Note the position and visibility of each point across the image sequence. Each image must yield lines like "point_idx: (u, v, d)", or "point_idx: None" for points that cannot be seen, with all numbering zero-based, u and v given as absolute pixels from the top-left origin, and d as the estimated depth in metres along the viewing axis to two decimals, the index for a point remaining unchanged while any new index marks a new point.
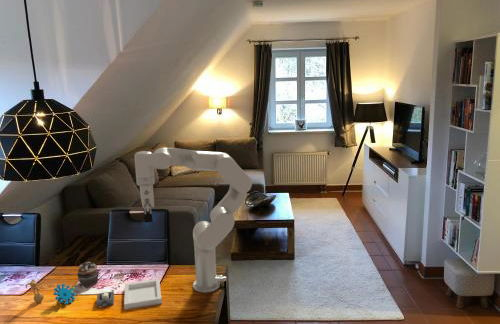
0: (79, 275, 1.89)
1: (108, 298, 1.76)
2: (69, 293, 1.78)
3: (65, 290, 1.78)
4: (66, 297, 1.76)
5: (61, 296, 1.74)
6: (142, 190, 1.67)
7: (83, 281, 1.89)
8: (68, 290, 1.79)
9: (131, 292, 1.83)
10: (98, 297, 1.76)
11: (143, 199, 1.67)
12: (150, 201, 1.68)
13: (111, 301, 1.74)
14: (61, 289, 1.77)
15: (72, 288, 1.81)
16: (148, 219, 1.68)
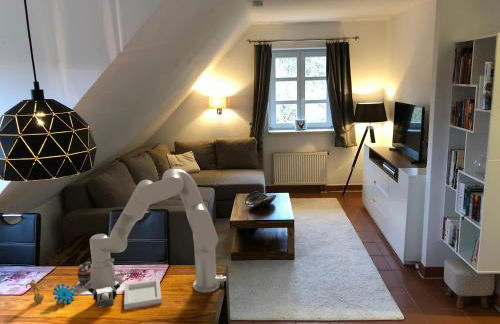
0: (79, 275, 1.89)
1: (108, 298, 1.76)
2: (68, 293, 1.78)
3: (65, 290, 1.78)
4: (65, 297, 1.76)
5: (60, 296, 1.75)
6: (112, 269, 1.73)
7: (83, 281, 1.89)
8: (68, 290, 1.79)
9: (131, 292, 1.83)
10: (98, 297, 1.76)
11: (114, 277, 1.74)
12: (115, 276, 1.77)
13: (111, 301, 1.74)
14: (61, 289, 1.77)
15: (72, 288, 1.81)
16: (116, 294, 1.78)
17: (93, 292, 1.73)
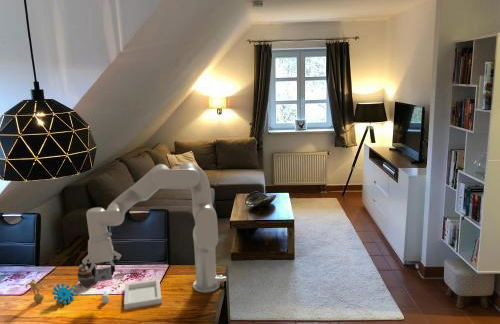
0: (79, 275, 1.89)
1: (108, 298, 1.76)
2: (68, 293, 1.79)
3: (64, 290, 1.78)
4: (65, 297, 1.76)
5: (60, 296, 1.75)
6: (110, 243, 1.70)
7: (83, 281, 1.89)
8: (67, 290, 1.79)
9: (131, 292, 1.83)
10: (96, 272, 1.73)
11: (112, 251, 1.72)
12: (113, 250, 1.75)
13: (109, 276, 1.72)
14: (60, 289, 1.77)
15: (72, 288, 1.82)
16: (114, 269, 1.75)
17: (91, 267, 1.71)
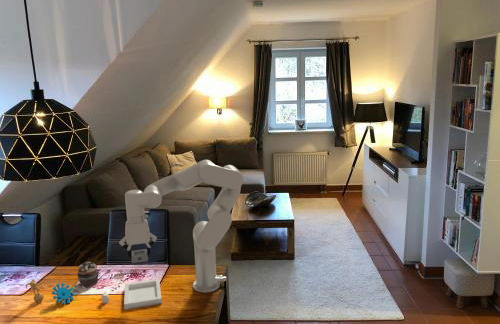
0: (79, 275, 1.89)
1: (108, 298, 1.76)
2: (68, 293, 1.79)
3: (64, 290, 1.78)
4: (64, 297, 1.76)
5: (59, 295, 1.75)
6: (147, 225, 1.73)
7: (83, 281, 1.89)
8: (67, 290, 1.79)
9: (131, 292, 1.83)
10: (132, 254, 1.76)
11: (149, 233, 1.74)
12: (149, 233, 1.77)
13: (146, 257, 1.74)
14: (60, 288, 1.77)
15: (72, 288, 1.82)
16: None
17: (128, 248, 1.73)
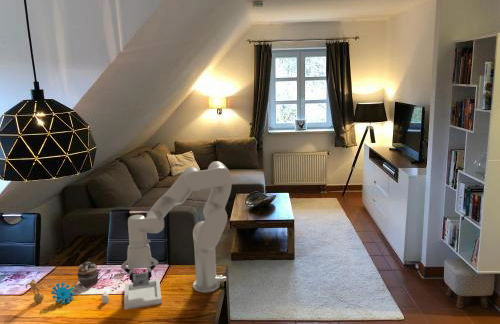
0: (79, 275, 1.89)
1: (108, 298, 1.76)
2: (68, 293, 1.79)
3: (64, 289, 1.78)
4: (64, 297, 1.76)
5: (59, 295, 1.75)
6: (149, 249, 1.76)
7: (83, 281, 1.89)
8: (67, 290, 1.80)
9: (131, 292, 1.83)
10: (134, 277, 1.78)
11: (150, 257, 1.77)
12: (151, 257, 1.80)
13: (147, 281, 1.77)
14: (60, 288, 1.78)
15: (71, 288, 1.82)
16: None
17: (129, 272, 1.76)
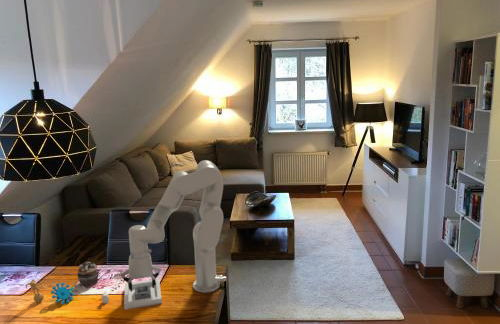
0: (79, 275, 1.89)
1: (108, 298, 1.76)
2: (67, 293, 1.79)
3: (64, 289, 1.79)
4: (63, 296, 1.76)
5: (58, 295, 1.75)
6: (150, 259, 1.77)
7: (83, 281, 1.89)
8: (67, 289, 1.80)
9: (131, 292, 1.83)
10: (136, 290, 1.80)
11: (152, 267, 1.78)
12: None
13: (149, 294, 1.78)
14: (59, 288, 1.78)
15: (71, 288, 1.82)
16: None
17: (129, 281, 1.76)
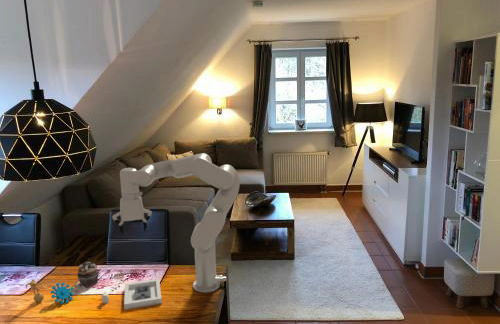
0: (79, 275, 1.89)
1: (108, 298, 1.76)
2: (67, 292, 1.79)
3: (63, 289, 1.79)
4: (63, 296, 1.76)
5: (58, 295, 1.75)
6: (141, 202, 1.80)
7: (83, 281, 1.89)
8: (67, 289, 1.80)
9: (131, 292, 1.83)
10: (136, 290, 1.80)
11: (143, 209, 1.81)
12: None
13: (149, 294, 1.78)
14: (59, 288, 1.78)
15: None
16: (146, 226, 1.84)
17: (120, 223, 1.79)
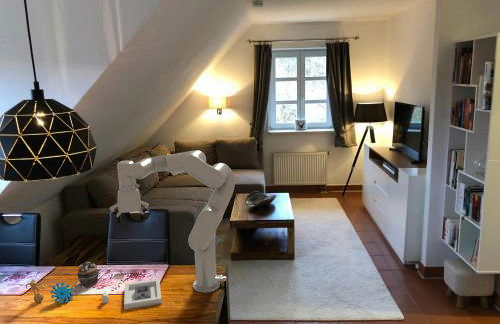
0: (79, 275, 1.89)
1: (108, 298, 1.76)
2: (67, 292, 1.79)
3: (63, 289, 1.79)
4: (63, 296, 1.76)
5: (57, 295, 1.75)
6: (138, 194, 1.83)
7: (83, 281, 1.89)
8: (66, 289, 1.80)
9: (131, 292, 1.83)
10: (136, 290, 1.80)
11: (140, 201, 1.84)
12: None
13: (149, 294, 1.78)
14: (59, 288, 1.78)
15: None
16: (143, 218, 1.88)
17: (117, 214, 1.83)
